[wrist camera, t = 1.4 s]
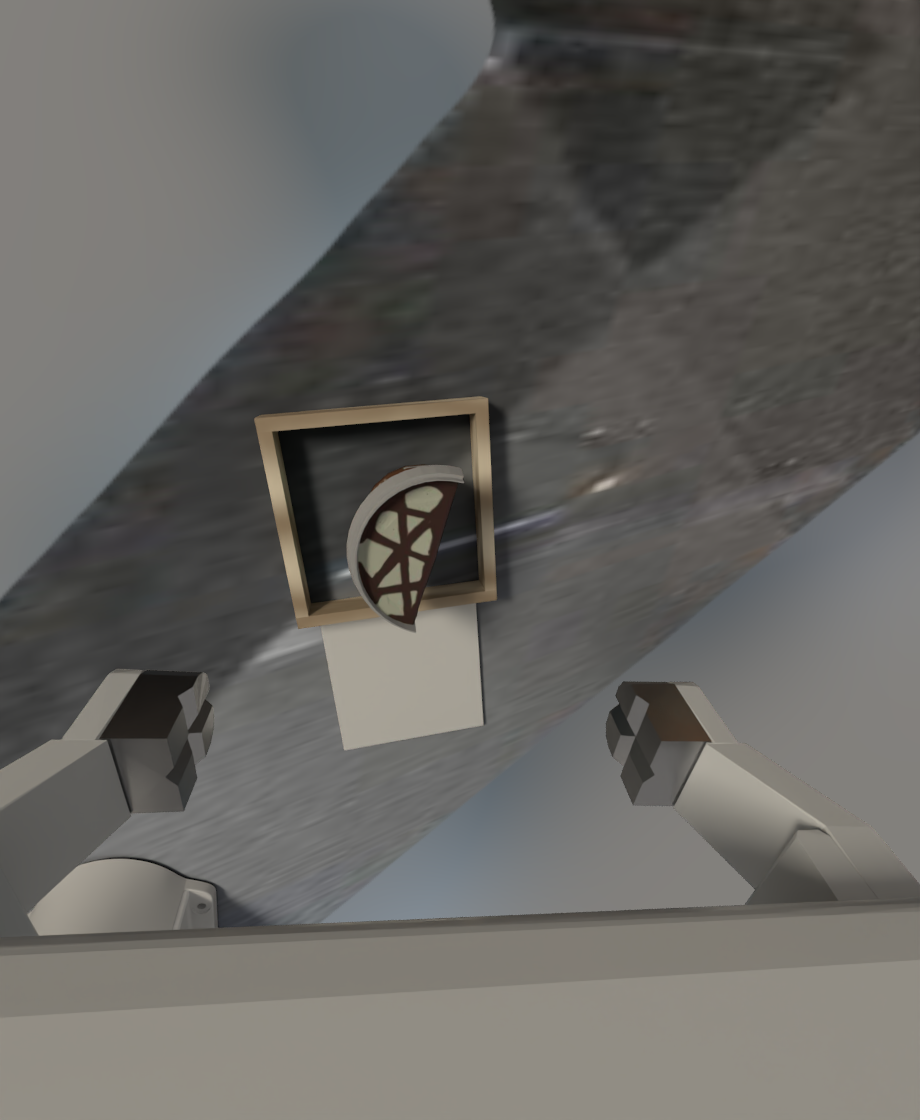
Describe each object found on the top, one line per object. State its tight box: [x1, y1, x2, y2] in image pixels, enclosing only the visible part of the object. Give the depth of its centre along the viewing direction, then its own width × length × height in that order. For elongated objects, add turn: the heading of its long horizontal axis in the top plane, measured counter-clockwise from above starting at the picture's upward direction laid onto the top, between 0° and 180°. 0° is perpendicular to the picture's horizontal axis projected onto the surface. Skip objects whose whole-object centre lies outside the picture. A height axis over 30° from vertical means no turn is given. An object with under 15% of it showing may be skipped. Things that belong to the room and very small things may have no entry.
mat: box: [321, 603, 483, 750], centre depth 49 cm, size 14×14×1 cm
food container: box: [347, 464, 464, 633], centre depth 39 cm, size 12×6×10 cm, turn 162°
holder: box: [254, 396, 497, 629], centre depth 42 cm, size 17×17×2 cm
